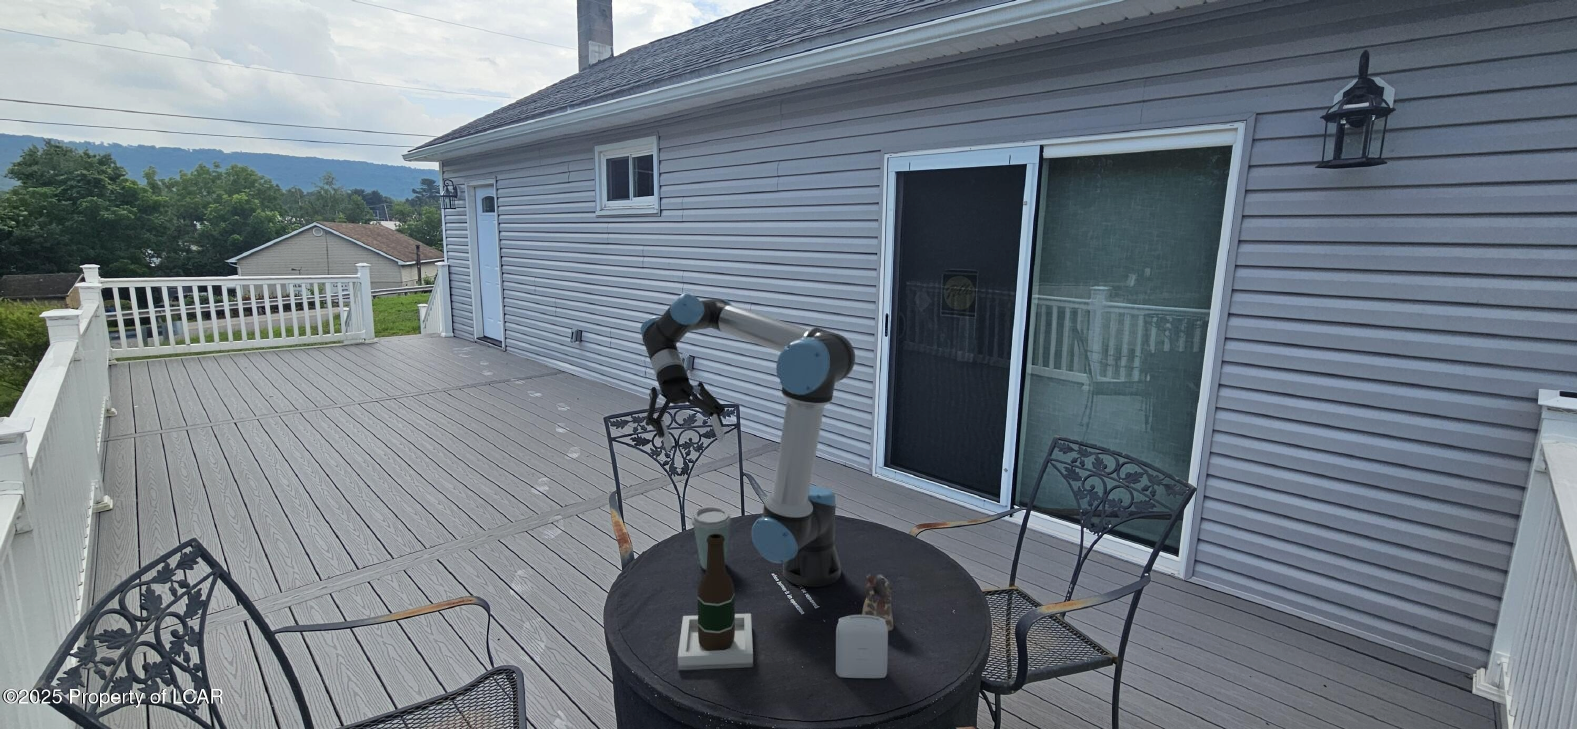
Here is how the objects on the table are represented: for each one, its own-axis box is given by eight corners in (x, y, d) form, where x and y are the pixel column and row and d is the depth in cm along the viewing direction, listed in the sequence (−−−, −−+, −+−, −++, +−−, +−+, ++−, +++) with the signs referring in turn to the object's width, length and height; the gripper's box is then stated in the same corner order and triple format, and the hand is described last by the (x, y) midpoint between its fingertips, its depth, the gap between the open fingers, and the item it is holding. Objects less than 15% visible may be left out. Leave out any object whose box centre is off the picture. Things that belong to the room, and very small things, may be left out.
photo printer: (835, 679, 132) (837, 621, 129) (834, 666, 136) (836, 610, 134) (888, 681, 131) (890, 623, 129) (885, 667, 135) (887, 611, 133)
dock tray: (750, 625, 150) (750, 613, 149) (752, 667, 135) (752, 653, 135) (683, 628, 149) (683, 616, 148) (678, 670, 134) (677, 656, 133)
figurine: (892, 635, 147) (894, 584, 145) (860, 631, 148) (861, 581, 146) (893, 618, 154) (895, 569, 151) (863, 614, 155) (864, 566, 153)
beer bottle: (719, 657, 136) (718, 547, 132) (690, 645, 141) (688, 538, 136) (742, 639, 143) (741, 533, 139) (713, 628, 147) (712, 525, 143)
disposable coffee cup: (740, 562, 180) (739, 510, 177) (715, 579, 171) (714, 524, 168) (709, 553, 185) (708, 501, 183) (683, 568, 176) (682, 514, 174)
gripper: (710, 375, 178) (737, 443, 168) (618, 385, 164) (642, 459, 155) (719, 358, 172) (747, 428, 163) (625, 367, 159) (650, 443, 149)
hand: (696, 443), depth 159 cm, fingers open, 13 cm apart
